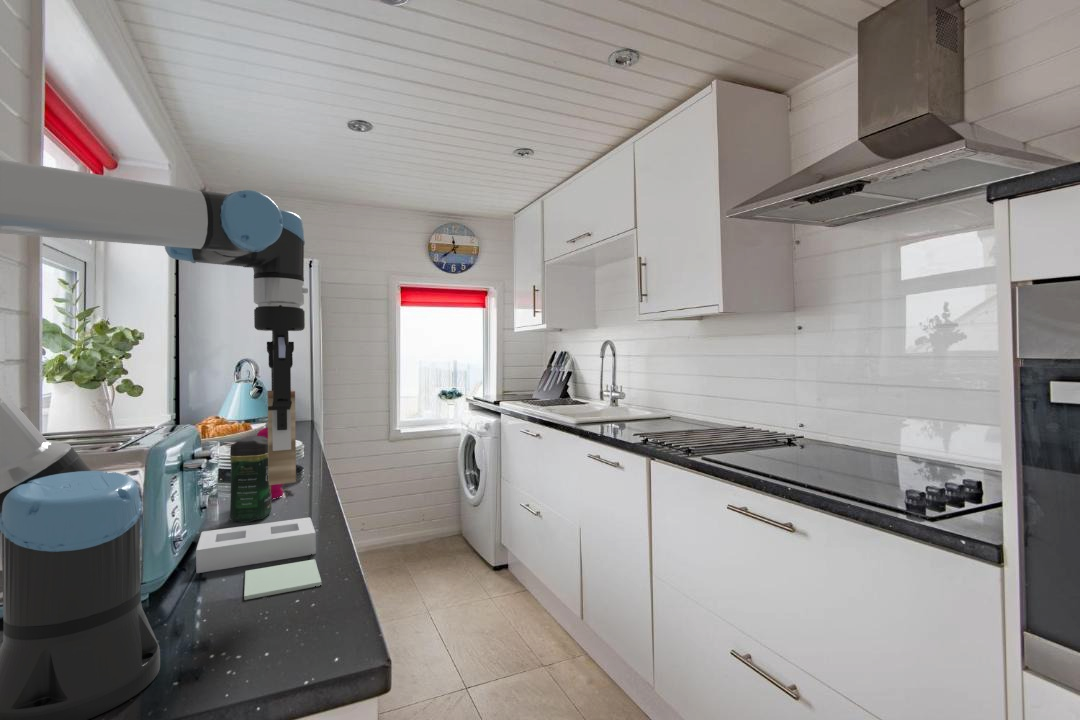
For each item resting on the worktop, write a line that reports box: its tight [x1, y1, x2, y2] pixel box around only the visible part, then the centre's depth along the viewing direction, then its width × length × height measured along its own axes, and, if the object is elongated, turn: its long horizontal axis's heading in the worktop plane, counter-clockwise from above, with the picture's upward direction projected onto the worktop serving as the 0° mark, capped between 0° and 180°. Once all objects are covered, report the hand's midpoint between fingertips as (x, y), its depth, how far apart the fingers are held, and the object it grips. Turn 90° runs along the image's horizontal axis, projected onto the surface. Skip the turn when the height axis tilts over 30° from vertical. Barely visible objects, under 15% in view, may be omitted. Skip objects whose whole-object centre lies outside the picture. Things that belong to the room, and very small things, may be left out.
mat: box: [243, 559, 323, 601], centre depth 90 cm, size 11×11×1 cm
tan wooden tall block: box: [266, 389, 297, 485], centre depth 90 cm, size 4×4×15 cm
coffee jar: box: [229, 435, 272, 523], centre depth 125 cm, size 10×8×19 cm
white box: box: [195, 517, 317, 574], centre depth 102 cm, size 11×19×4 cm, turn 118°
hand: (281, 447), depth 90 cm, fingers closed on tan wooden tall block, 4 cm apart
